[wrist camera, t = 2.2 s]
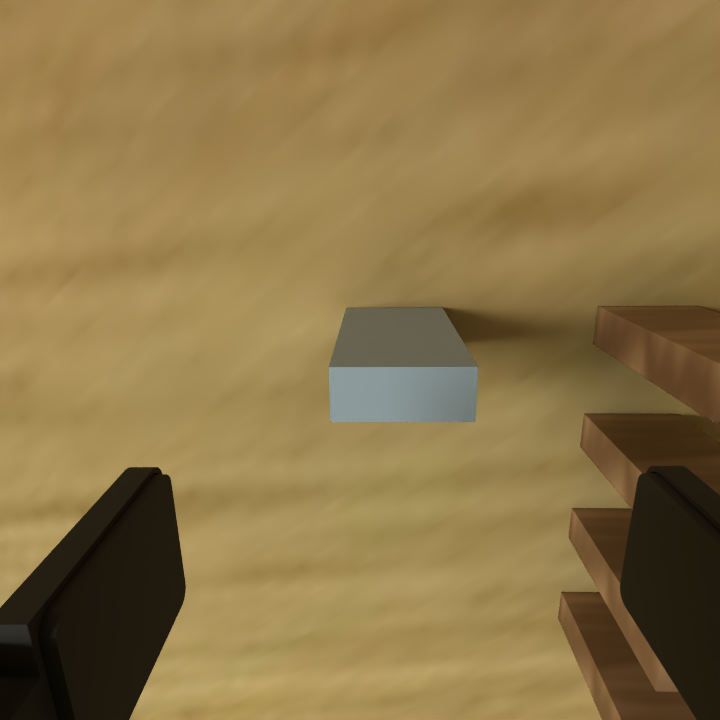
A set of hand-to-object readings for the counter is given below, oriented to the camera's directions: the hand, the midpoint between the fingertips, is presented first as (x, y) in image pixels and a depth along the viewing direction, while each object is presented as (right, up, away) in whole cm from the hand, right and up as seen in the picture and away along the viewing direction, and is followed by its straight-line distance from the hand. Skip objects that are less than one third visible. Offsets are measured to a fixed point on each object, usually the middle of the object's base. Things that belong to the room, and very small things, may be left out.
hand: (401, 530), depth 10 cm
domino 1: (+1, +5, +17) cm, 18 cm away
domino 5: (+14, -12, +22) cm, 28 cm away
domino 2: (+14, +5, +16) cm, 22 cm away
